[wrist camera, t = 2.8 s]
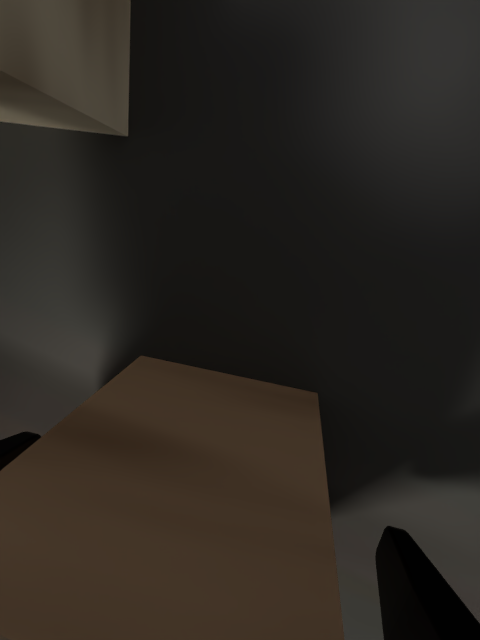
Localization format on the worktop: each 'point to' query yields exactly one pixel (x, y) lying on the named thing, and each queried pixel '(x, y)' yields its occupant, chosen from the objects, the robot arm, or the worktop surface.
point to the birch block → (65, 64)
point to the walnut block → (172, 515)
